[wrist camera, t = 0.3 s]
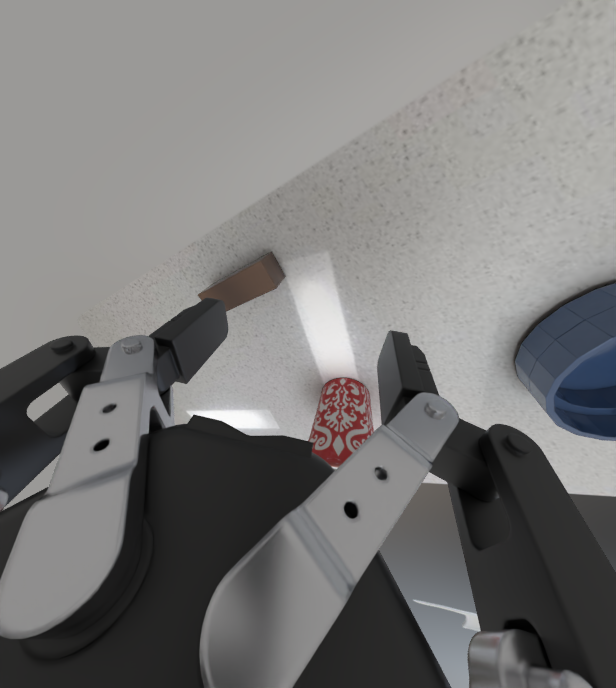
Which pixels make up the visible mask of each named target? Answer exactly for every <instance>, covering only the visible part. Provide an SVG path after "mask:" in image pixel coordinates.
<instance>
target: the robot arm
mask: <svg viewBox="0 0 616 688" xmlns="http://www.w3.org/2000/svg"><path fill="white" fill-rule="evenodd" d="M227 334H228V322H227V315H226V308H225V303H224V301H223V300H219V299H213V298H205V299H203V300H202V301H201V302H199V303H198V304H197V305H195V306H192V307H190V308H187V309H185V310H183V311H182V312H181V313H179V314H178V315H177V316H175V317H174V318H172V319H171V321H168V322H167V323H165V324H164V325H163V326H161V327H160V328H159V329H157V330H156V331H155V332H153V333H152V334H150V335H149V336H145V335H136V336H130V337H126V338H124V339H121V340H119V341H117V342H116V343H114V344H113V345H112V346H111V347H97V348H93V346H92V345H91V343H90V342H89V340H88V338H86V337H84V336H67V337H62V338H59V339H56V340H53V341H50V342H48V343H46V344H45V345H43V346H41V347H39V348H37V349H35V350H34V351H32V352H30V353H28V354H27V355H25V356H23V357H21V358H19V359H17V360H16V361H14V362H12V363H10V364H9V365H7V366H5V367H3V368H1V369H0V688H451V686H450V684H449V682H448V680H447V679H446V677H445V675H444V673H443V671H442V669H441V667H440V665H439V663H438V661H437V659H436V658H435V656H434V654H433V652H432V650H431V648H430V646H429V644H428V642H427V641H426V638H425V637H424V635H423V633H422V631H421V629H420V627H419V625H418V623H417V621H416V620H415V618H414V616H413V614H412V612H411V610H410V608H409V606H408V604H407V602H406V600H405V599H404V597H403V595H402V593H401V591H400V589H399V587H398V585H397V583H396V581H395V580H394V578H393V576H392V574H391V572H390V570H389V568H388V566H387V564H386V562H385V561H384V559H383V557H382V555H381V553H380V551H379V548H380V547H381V545H382V544H383V542H384V540H385V539H386V537H387V536H388V534H389V533H390V531H391V530H392V528H393V527H394V525H395V523H396V522H397V520H398V519H399V517H400V516H401V514H402V513H403V511H404V509H405V508H406V506H407V505H408V503H409V502H410V500H411V499H412V497H413V496H414V494H415V492H416V491H417V489H418V488H419V486H420V485H421V483H422V482H423V480H424V479H425V477H426V476H427V474H428V472H430V473H432V474H434V475H436V476H437V477H439V478H441V479H443V480H445V481H446V482H447V483H448V487H449V492H450V496H451V501H452V505H453V509H454V514H455V518H456V523H457V527H458V531H459V536H460V540H461V545H462V549H463V554H464V558H465V562H466V566H467V571H468V576H469V580H470V584H471V589H472V593H473V598H474V602H475V606H476V611H477V616H478V620H479V624H480V629H481V631H480V632H478V633H476V634H475V635H474V636H473V637H472V639H471V641H470V644H469V648H468V670H469V688H616V572H615V570H614V569H613V567H612V565H611V564H610V562H609V560H608V559H607V557H606V555H605V554H604V552H603V551H602V549H601V547H600V545H599V544H598V542H597V541H596V539H595V537H594V536H593V534H592V532H591V531H590V529H589V527H588V526H587V524H586V522H585V521H584V519H583V517H582V516H581V514H580V513H579V511H578V509H577V507H576V506H575V504H574V503H573V501H572V499H571V498H570V496H569V494H568V493H567V491H566V489H565V488H564V486H563V484H562V483H561V481H560V479H559V478H558V476H557V474H556V473H555V471H554V469H553V468H552V466H551V465H550V463H549V461H548V460H547V458H546V456H545V455H544V453H543V451H542V450H541V449H540V447H539V446H538V445H537V444H536V443H535V442H534V441H533V440H532V439H531V438H529V437H528V436H527V435H525V434H524V433H522V432H521V431H519V430H517V429H515V428H513V427H511V426H507V425H503V424H495V425H492V426H491V427H490V428H489V429H488V430H487V431H486V430H484V429H481V428H479V427H477V426H475V425H473V424H470V423H468V422H466V421H464V420H462V419H460V418H459V416H458V413H457V411H456V409H455V408H454V407H453V406H452V405H451V404H450V403H449V402H448V401H447V400H445V399H444V398H442V397H440V396H439V394H438V391H437V388H436V385H435V382H434V380H433V377H432V374H431V372H430V369H429V366H428V364H427V360H426V357H425V355H424V353H423V352H422V351H421V350H420V349H419V348H418V347H417V346H413V345H411V344H410V340H409V337H408V334H407V333H402V332H397V331H391V330H390V331H389V332H388V334H387V337H386V340H385V342H384V345H383V348H382V350H381V353H380V356H379V359H378V365H377V372H378V384H379V396H380V409H381V421H382V425H381V426H380V427H379V428H378V429H377V430H376V431H375V432H374V433H373V434H372V435H371V436H370V437H369V438H368V439H367V440H366V441H365V442H364V443H363V444H361V445H360V446H359V447H358V448H357V449H356V450H355V451H354V452H353V453H352V454H351V455H350V456H349V457H348V458H347V459H346V460H345V461H344V462H343V463H342V464H341V465H340V466H339V467H338V468H337V469H336V470H334V469H333V468H332V467H331V465H329V464H328V463H327V462H326V461H325V460H324V459H322V458H321V457H319V456H318V455H316V454H314V453H313V452H312V448H313V442H309V441H304V440H300V439H296V438H292V437H287V436H283V435H282V436H249V435H246V434H244V433H242V432H241V431H239V430H237V429H235V428H233V427H232V426H230V425H228V424H226V423H224V422H222V421H219V420H215V419H210V418H206V417H202V416H197V415H193V417H192V418H191V419H190V421H189V422H188V424H180V425H175V422H174V397H173V388H172V384H173V383H174V382H175V381H176V382H180V383H185V384H187V383H188V382H189V381H190V379H191V378H192V377H193V376H194V375H195V374H196V372H197V371H198V370H199V369H200V368H201V367H202V365H203V364H204V363H205V362H206V361H207V360H208V358H209V357H210V356H211V355H212V354H213V353H214V351H215V350H216V349H217V348H218V347H219V346H220V344H221V343H222V342H223V341H224V340H225V338H226V337H227ZM57 383H60V384H61V385H62V386H63V388H64V389H65V390H66V391H67V392H68V394H69V395H67V396H66V397H65V398H63V399H62V400H61V401H60V402H58V403H57V404H56V405H54V406H53V407H52V408H51V409H49V410H48V411H47V412H46V413H44V414H43V415H42V416H40V417H39V418H38V419H37V420H35V421H34V422H33V421H32V420H31V419H30V418H29V417H28V416H27V408H28V406H29V405H30V403H31V402H32V401H33V400H35V399H36V398H38V397H39V396H40V395H42V394H43V393H45V392H46V391H47V390H49V389H50V388H52V387H53V386H54V385H56V384H57ZM59 454H60V456H59V459H58V462H57V465H56V467H55V470H54V473H53V476H52V479H51V482H50V485H49V487H47V488H45V489H43V490H41V491H39V492H38V493H36V494H34V495H32V496H30V497H28V498H26V499H24V500H23V501H20V502H18V503H16V504H15V505H13V506H11V507H9V508H7V509H5V510H3V508H4V507H5V506H6V505H7V504H8V503H9V502H10V501H11V500H12V499H13V498H14V497H15V496H17V494H18V493H20V492H21V491H22V490H23V489H24V488H25V487H26V486H27V485H28V484H29V483H30V482H31V481H32V480H33V479H34V478H35V477H36V476H37V475H38V474H39V473H40V472H41V471H42V470H43V469H44V468H45V467H46V466H48V465H49V463H51V462H52V461H53V460H54V459H55V458H56V457H57V456H58V455H59ZM2 510H3V511H2Z"/></svg>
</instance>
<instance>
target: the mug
mask: <svg viewBox="0 0 616 688" xmlns="http://www.w3.org/2000/svg"><path fill="white" fill-rule="evenodd" d="M373 433H374V431H373V422H372V412H371V403H370V395H369V391H368V390H367V388H366V387H365V386H364V385H363V384H362V383H360V382H358V381H356V380H353V379H349V378H337V379H333V380H331V381H329V382H327V383H326V384H325V386H324V387H323V390H322V393H321V397H320V401H319V405H318V408H317V412H316V416H315V419H314V423H313V426H312V430H311V434H310V437H309V440H308V441H309V442H313V448H312V452H313V453H314V454H316V455H318V456H319V457H321V458H322V459H324V460H325V461H326V462H327V463H328V464H329V465H331V467H332V468H333V469H334V470H336V469H337V468H338V467H339V466H340V465H341V464H342V463H343V462H344V461H345V460H346V459H347V458H348V457H349V456H350V455H351V454H352V453H353V452H354V451H355V450H356V449H357V448H358V447H359V446H360V445H361V444H363V443H364V442H365V441H366V440H367V439H368V438H369V437H370V436H371V435H372V434H373Z"/></svg>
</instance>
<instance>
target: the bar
mask: <svg viewBox="0 0 616 688" xmlns="http://www.w3.org/2000/svg"><path fill="white" fill-rule="evenodd" d="M284 278H285V275H284V273H283V271H282V269H281V268H280V266H279V264H278V262H277V260H276V259H275V257H274V255H273V253H272V252H270V253H268V254H266V255H264V256H263V257H261V258H259V259H257V260H255V261H253V262H252V263H250V264H248V265H246V266H244V267H243V268H241V269H239V270H237V271H235V272H234V273H232V274H230V275H228V276H226V277H225V278H223V279H221V280H219V281H217V282H215V283H214V284H212V285H211V286H209V287H208V288H206V289H205V290H204V291H202V292H201V293H199V294H198V296H199V297H200V299H201V300H203V299H205V298H213V299H219V300H223V301H224V303H225V308H226V311H228V310H230V309H233V308H235V307H237V306H239V305H241V304H243V303H246V302H248V301H250V300H252V299H254V298H256V297H258V296H261V295H263V294H265V293H267V292H269V291H271V290H274V289H276V288H277V287H278V285H279V284H280V283H281V282H282V280H283V279H284Z"/></svg>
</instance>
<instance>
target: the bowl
mask: <svg viewBox="0 0 616 688" xmlns="http://www.w3.org/2000/svg"><path fill="white" fill-rule="evenodd" d="M515 363H516V370H517V376H518V378H519V379H520V380H521V381H522V383H523V384H524V385H525V386H526V388H527V389H528V390H529V391H530V393H531V394H532V395H533V397H534V398H535V399H536V400H537V402H538V403H539V404H540V405H541V407H542V408H543V409H544V410H545V412H546V413H547V414H548V415H549V417H550V418H551V419H552V420H553V421H554V423H555V424H556V425H557V426H559V427H561V428H563V429H565V430H567V431H569V432H571V433H573V434H575V435H579V436H584V437H589V438H594V439H599V440H607V441H616V283H614V284H611V285H608V286H604V287H601V288H598V289H595V290H593V291H591V292H589V293H587V294H585V295H583V296H581V297H579V298H577V299H575V300H573V301H571V302H569V303H567V304H565V305H563V306H562V307H561V308H559V309H558V310H556V311H555V312H554V313H552V314H551V315H550V316H548V317H547V318H546V319H544V320H543V321H542V322H540V323H539V324H538V325H537V326H536V327H535V328H534V329H533V330H532V332H531V333H530V334H529V335H528V336H527V338H526V339H525V340H524V341H523V342H522V344H521V346H520V349H519V351H518V354H517V357H516V360H515Z"/></svg>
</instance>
